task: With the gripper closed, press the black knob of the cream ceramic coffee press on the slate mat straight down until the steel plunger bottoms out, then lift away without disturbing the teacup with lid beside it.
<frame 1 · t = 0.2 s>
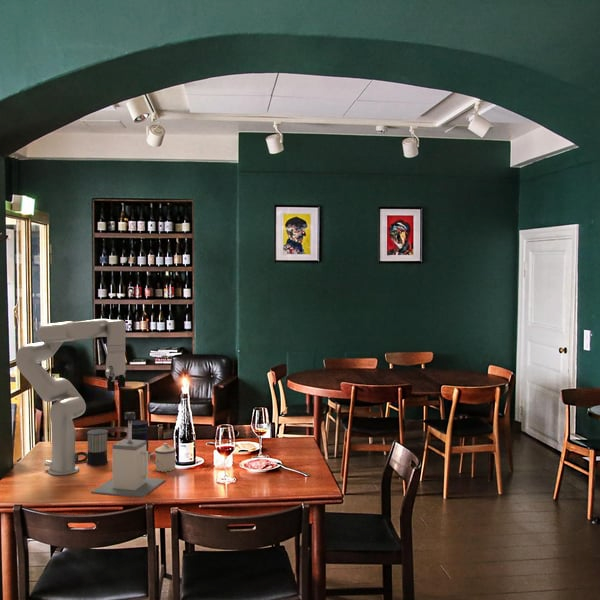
hand: (116, 388, 280), 38 cm above the table, tool pointing down, fingers open, 9 cm apart
slate mat: (129, 486, 268), on the table
plunger: (129, 435, 267), point 21 cm above the table, slide at 8.0 cm
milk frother: (89, 463, 301), on the table
teacup with lid: (162, 469, 293), on the table
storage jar: (138, 453, 319), on the table
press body: (132, 464, 268), on the slate mat, point 9 cm above the table
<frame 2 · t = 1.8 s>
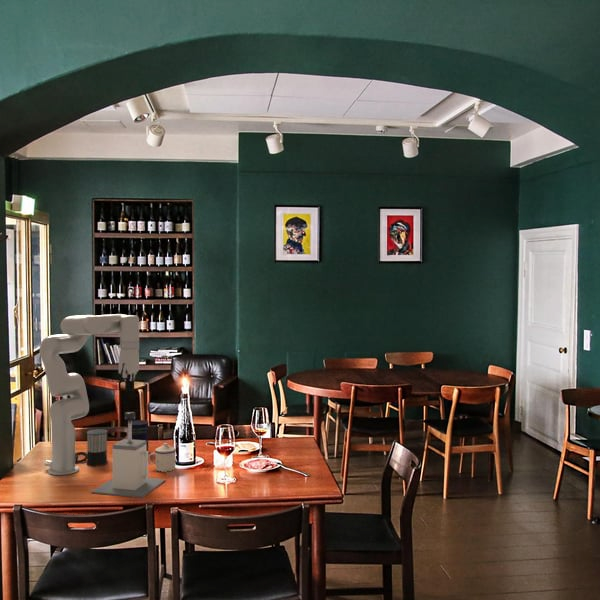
hand: (129, 390, 267), 40 cm above the table, tool pointing down, fingers closed
nothing on the table moved.
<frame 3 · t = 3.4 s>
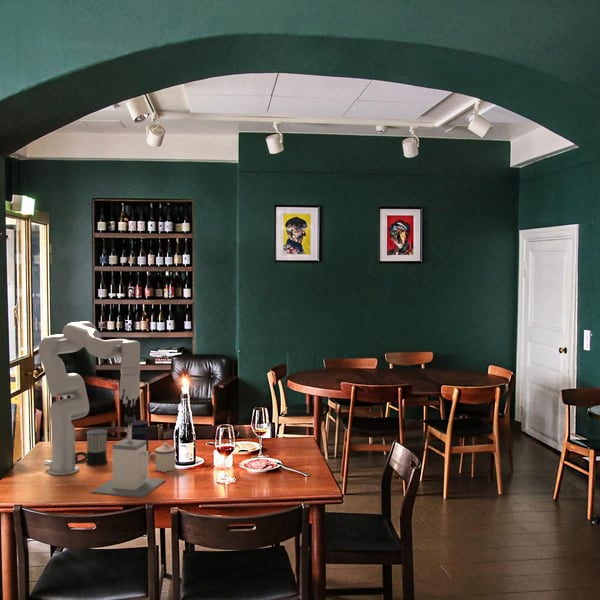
hand: (130, 415, 267), 29 cm above the table, tool pointing down, fingers closed
plunger: (129, 438, 267), point 20 cm above the table, slide at 6.8 cm, touching gripper
everything else where it was.
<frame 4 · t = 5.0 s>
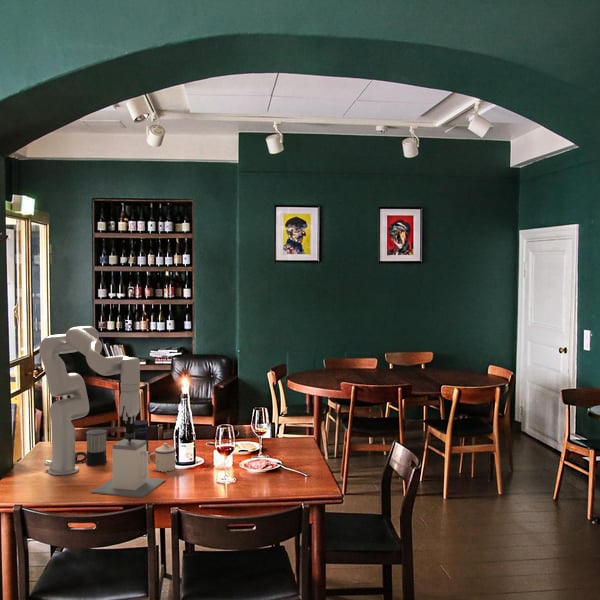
hand: (130, 432, 267), 22 cm above the table, tool pointing down, fingers closed
plunger: (129, 454, 268), point 13 cm above the table, slide at 0.0 cm, touching gripper
everything else where it was.
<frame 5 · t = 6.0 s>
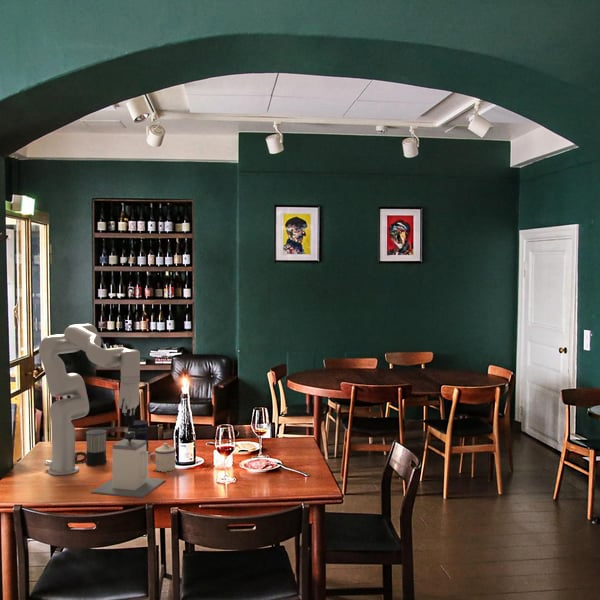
hand: (129, 424, 267), 26 cm above the table, tool pointing down, fingers closed
plunger: (129, 454, 268), point 13 cm above the table, slide at 0.0 cm
everything else where it was.
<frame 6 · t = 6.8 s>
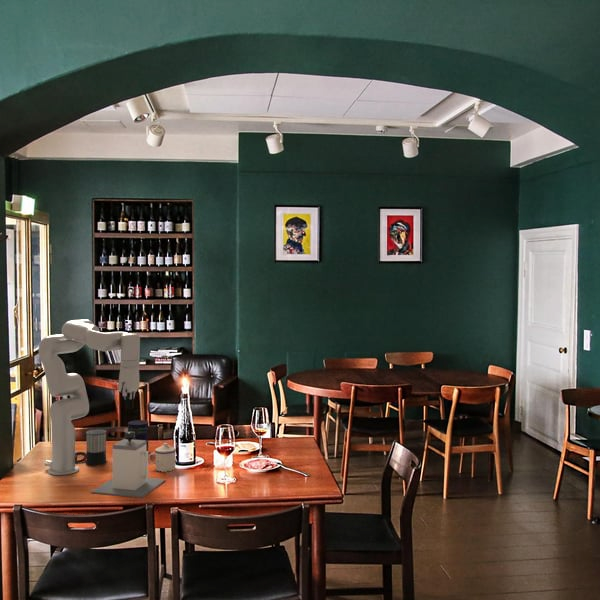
hand: (129, 408, 267), 32 cm above the table, tool pointing down, fingers closed
nothing on the table moved.
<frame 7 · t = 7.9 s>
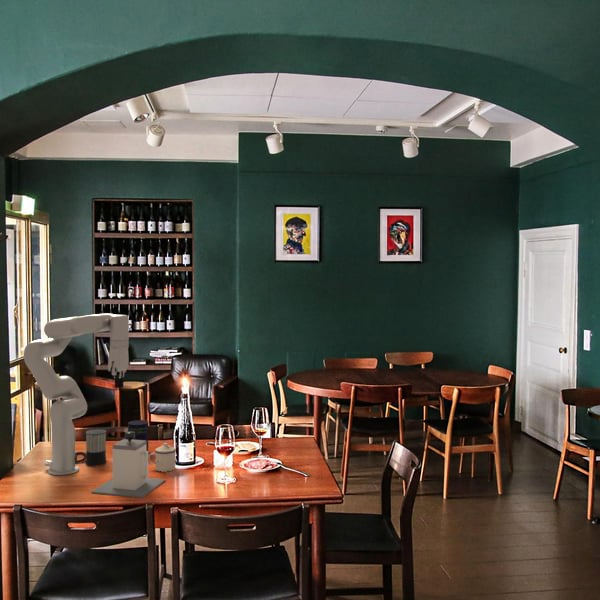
hand: (119, 387, 276), 39 cm above the table, tool pointing down, fingers closed
nothing on the table moved.
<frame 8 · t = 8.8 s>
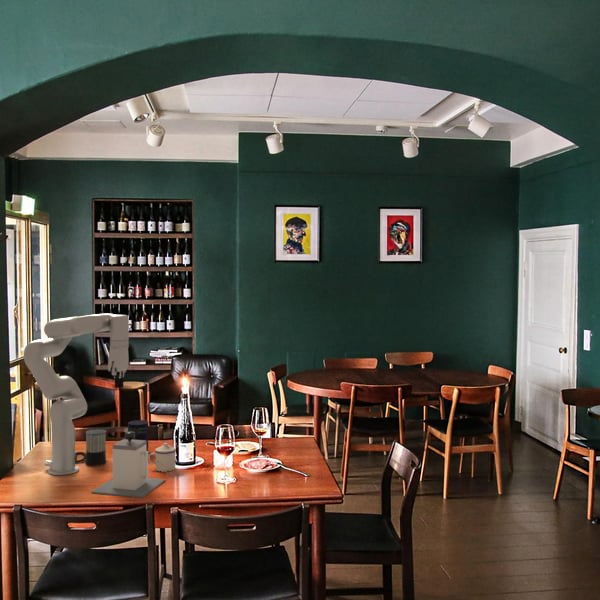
hand: (119, 387, 276), 39 cm above the table, tool pointing down, fingers closed
nothing on the table moved.
at the end: plunger slide at 0.0 cm; teacup with lid moved 0.2 cm from its start; teacup with lid tilted 0° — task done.
